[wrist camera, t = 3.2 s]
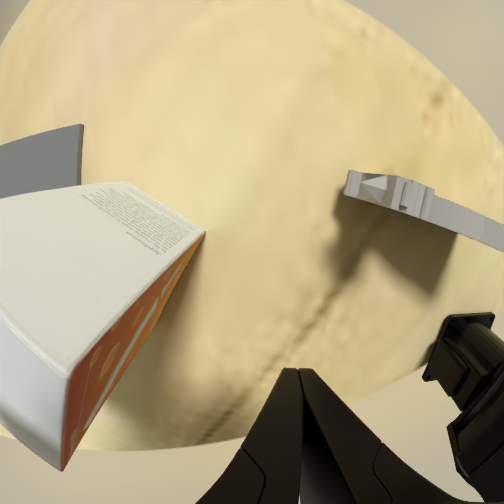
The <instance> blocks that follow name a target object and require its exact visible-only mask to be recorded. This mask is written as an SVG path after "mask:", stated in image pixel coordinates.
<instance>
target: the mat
mask: <svg viewBox="0 0 504 504" xmlns="http://www.w3.org/2000/svg"><path fill="white" fill-rule="evenodd" d="M83 130H84V125H83V124H77V125H72V126H68V127H63V128H59V129H55V130H51V131H47V132H43V133H39V134H36V135H32V136H29V137H25V138H22V139H19V140H16V141H13V142H10V143H7V144H4V145H1V146H0V199H1V198H6V197H11V196H16V195H21V194H26V193H32V192H38V191H44V190H52V189H59V188H65V187H72V186H79V185H81V157H82V141H83Z"/></svg>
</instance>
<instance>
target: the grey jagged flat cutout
mask: <svg viewBox="0 0 504 504" xmlns="http://www.w3.org/2000/svg"><path fill="white" fill-rule="evenodd" d="M434 191H435V189H432V188H430V187H426V185H423V184H421V183H418V182H416V181H413V180H409V179H406V178H404V177H400V176H393V175H381V174H370V173H361V172H357V171H353V170H349V171H348V175H347V180H346V184H345V188H344V193H343V195H347V196H350V197H354V198H357V199H361V200H364V201H367V202H370V203H374V204H377V205H380V206H383V207H386V208H390V209H393V210H396V211H399V212H402V213H405V214H408V215H410V216H413V217H416V218H419V219H422V220H425V221H428V222H430V223H433V224H436V225H438V226H441V227H444V228H446V229H449V230H451V231H454V232H456V233H459V234H461V235H464V236H466V237H469V238H471V239H474V240H476V241H479V242H481V243H483V244H486V245H488V246H490V247H492V248H495V249H497V250H499V251H501V252H504V225H503V224H501V223H499V222H496V221H494V220H492V219H490V218H487V217H485V216H483V215H481V214H479V213H477V212H475V211H473V210H470V209H468V208H466V207H464V206H461V205H459V204H456V203H454V202H451V201H449V200H446V199H443V198H440V197H438V196H435V195H434Z"/></svg>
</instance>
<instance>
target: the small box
mask: <svg viewBox="0 0 504 504" xmlns="http://www.w3.org/2000/svg"><path fill="white" fill-rule="evenodd" d="M205 233H206V231H205V230H204V229H203V228H201V227H199V226H198V225H196V224H195V223H193V222H191V221H190V220H188V219H186V218H185V217H183V216H182V215H180V214H178V213H177V212H175V211H173V210H172V209H170V208H169V207H167V206H165V205H164V204H162V203H161V202H159V201H157V200H156V199H154V198H153V197H151V196H149V195H148V194H146V193H145V192H143V191H141V190H140V189H138V188H137V187H135V186H133V185H132V184H130V183H129V182H127V181H119V182H107V183H97V184H87V185H79V186H72V187H65V188H59V189H52V190H44V191H38V192H32V193H26V194H21V195H16V196H11V197H6V198H1V199H0V423H1V424H2V425H3V426H4V427H5V428H6V429H7V430H8V431H9V432H10V433H11V434H12V435H13V436H14V437H16V438H17V439H18V440H19V441H20V442H22V443H23V444H24V445H25V446H26V447H27V448H29V449H30V450H31V451H32V452H34V453H35V454H36V455H38V456H39V457H41V458H42V459H43V460H44V461H46V462H48V463H49V464H50V465H51V466H53V467H54V468H56V469H57V470H59V471H64V469H65V467H66V465H67V463H68V461H69V460H70V458H71V456H72V455H73V452H74V451H75V449H76V448H77V446H78V444H79V443H80V441H81V439H82V437H83V436H84V434H85V432H86V431H87V429H88V428H89V426H90V424H91V423H92V421H93V420H94V418H95V416H96V415H97V413H98V412H99V410H100V408H101V407H102V405H103V404H104V402H105V401H106V399H107V397H108V396H109V394H110V393H111V391H112V390H113V388H114V387H115V385H116V384H117V382H118V380H119V379H120V377H121V376H122V374H123V373H124V371H125V370H126V368H127V367H128V365H129V363H130V362H131V360H132V359H133V358H134V356H135V355H136V353H137V352H138V351H139V349H140V348H141V346H142V345H143V343H144V342H145V341H146V339H147V338H148V336H149V335H150V333H151V332H152V330H153V329H154V327H155V326H156V324H157V322H158V319H159V317H160V315H161V313H162V311H163V308H164V306H165V304H166V302H167V301H168V299H169V297H170V295H171V293H172V291H173V289H174V287H175V285H176V283H177V281H178V280H179V278H180V276H181V274H182V272H183V271H184V269H185V267H186V265H187V264H188V262H189V260H190V258H191V257H192V255H193V253H194V251H195V250H196V248H197V246H198V245H199V243H200V241H201V240H202V238H203V236H204V235H205Z"/></svg>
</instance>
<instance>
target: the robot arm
mask: <svg viewBox="0 0 504 504" xmlns="http://www.w3.org/2000/svg"><path fill="white" fill-rule="evenodd" d="M494 319H495V314H493V313H492V312H485V313H470V314H452V315H449V316H448V317H447V318H446V320H445V323H444V326H443V329H442V331H441V334H440V336H439V339H438V341H437V344H436V346H435V349H434V351H433V353H432V356H431V358H430V360H429V362H428V365H427V367H426V369H425V371H424V373H423V375H422V379H423V380H424V381H425V382H428V381H433V380H438V382H439V383H440V385H441V386H442V388H443V389H444V391H445V392H446V394H447V395H448V396H449V397H450V396H451V397H452V399H453V400H454V402H455V403H456V405H457V406H458V408H459V410H460V411H463V412H462V413H461V414H460V415H459V416H458V417H457V418H456V419H455V420H454V421H453V422H451V423H450V424H449V425H448V426H447V431H448V435H449V440H450V444H451V448H452V452H453V456H454V461H455V466H456V471H457V472H458V473H459V474H460V475H461V476H462V477H463V479H464V480H466V482H467V483H468V484H470V485H471V486H472V487H474V488H475V489H476V491H478V493H479V494H480V495H481V497H482V498H483V500H484V502H468V501H463V500H460V499H457V498H455V497H452V496H451V495H449V494H447V493H446V492H444V491H443V490H441V489H440V488H438V487H437V486H435V485H434V484H433V483H431V482H430V481H428V480H427V479H425V478H424V477H423V476H421V475H420V474H419V473H417V472H416V471H415V470H413V469H412V468H411V467H410V466H408V465H407V464H406V463H404V462H403V461H402V460H401V459H400V458H399V457H398V456H397V455H396V454H395V453H393V452H392V451H391V450H390V449H389V448H388V447H387V446H386V445H385V444H384V443H381V440H380V439H379V438H378V437H377V436H376V435H375V434H374V433H373V432H372V431H371V430H370V429H369V428H368V427H367V426H366V425H365V424H364V423H363V422H362V421H361V420H360V419H359V418H358V417H357V416H356V415H355V414H354V412H353V411H352V410H351V409H350V408H349V407H348V406H347V405H346V404H345V403H344V402H343V401H342V400H341V399H340V398H339V397H338V396H337V395H336V394H335V393H334V391H333V390H332V389H331V388H330V387H329V386H328V385H327V384H326V383H325V382H324V381H323V380H322V379H321V378H320V377H319V375H318V374H317V373H316V372H315V371H314V370H313V369H310V368H299V369H298V370H297V369H296V368H283V369H282V371H281V373H280V375H279V377H278V379H277V381H276V383H275V385H274V387H273V389H272V391H271V393H270V395H269V397H268V398H267V400H266V402H265V404H264V406H263V408H262V410H261V411H260V413H259V415H258V417H257V419H256V421H255V422H254V424H253V426H252V428H251V429H250V431H249V433H248V435H247V436H246V438H245V440H244V442H243V443H242V445H241V448H240V449H239V450H238V451H237V453H236V455H235V456H234V458H233V460H232V461H231V462H230V464H229V465H228V467H227V468H226V470H225V471H224V473H223V474H222V475H221V476H220V478H219V479H218V480H217V481H216V482H215V483H214V485H213V486H212V487H211V488H210V489H209V490H208V491H207V492H206V493H205V494H204V495H203V496H202V498H200V499H199V501H198V502H196V504H298V501H299V495H300V503H301V504H504V342H503V341H502V340H501V339H500V338H499V337H498V336H497V335H495V334H494V333H493V332H492V331H491V330H490V329H491V326H492V324H493V321H494Z"/></svg>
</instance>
